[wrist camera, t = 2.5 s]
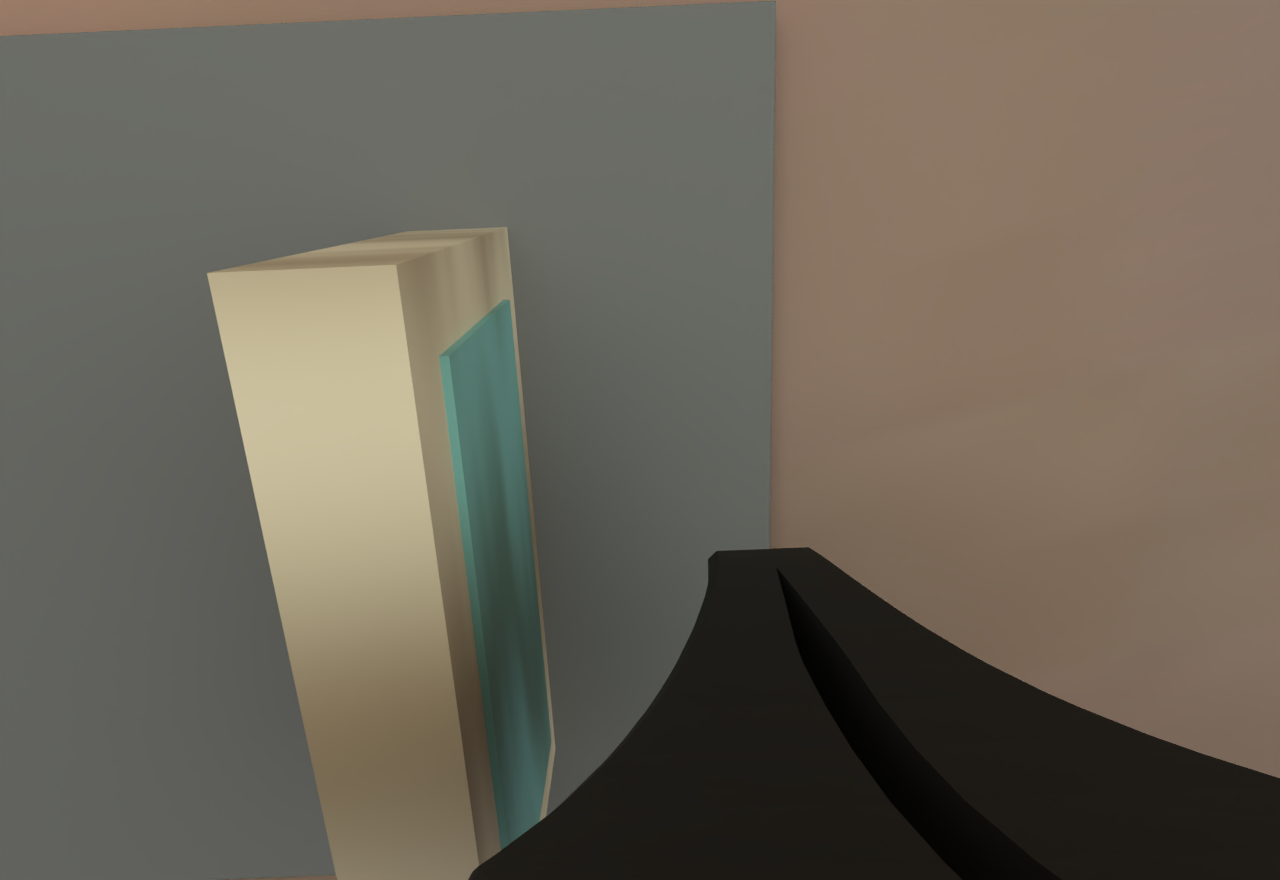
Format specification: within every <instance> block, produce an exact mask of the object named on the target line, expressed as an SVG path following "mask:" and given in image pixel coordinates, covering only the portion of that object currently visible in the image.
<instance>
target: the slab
mask: <svg viewBox="0 0 1280 880" xmlns="http://www.w3.org/2000/svg"><path fill="white" fill-rule="evenodd" d="M207 276H208V280H209V285H210V290H211V294H212V299H213V304H214V308H215V313H216V318H217V322H218V327H219V332H220V336H221V341H222V346H223V350H224V355H225V360H226V364H227V369H228V374H229V378H230V383H231V388H232V392H233V397H234V402H235V406H236V411H237V416H238V421H239V425H240V430H241V435H242V439H243V444H244V449H245V453H246V458H247V463H248V467H249V472H250V477H251V481H252V486H253V491H254V495H255V500H256V505H257V509H258V514H259V519H260V523H261V528H262V533H263V537H264V542H265V547H266V551H267V556H268V561H269V565H270V570H271V575H272V579H273V584H274V589H275V593H276V598H277V603H278V607H279V612H280V617H281V621H282V626H283V631H284V635H285V640H286V645H287V649H288V654H289V659H290V663H291V668H292V673H293V677H294V682H295V687H296V691H297V696H298V701H299V705H300V710H301V715H302V719H303V724H304V729H305V733H306V738H307V743H308V747H309V752H310V757H311V761H312V766H313V771H314V775H315V780H316V785H317V789H318V794H319V799H320V803H321V808H322V813H323V817H324V822H325V827H326V831H327V836H328V841H329V845H330V850H331V855H332V859H333V864H334V869H335V873H336V878H337V880H468V879H469V877H470V875H471V873H472V872H473V871H474V870H475V869H476V868H477V867H478V866H479V865H481V864H482V863H484V862H485V861H487V860H488V859H490V858H491V857H493V856H494V855H495V854H497V853H498V852H499V851H501V850H502V849H503V848H505V847H506V846H507V845H509V844H510V843H511V842H513V841H514V840H515V839H517V838H518V837H519V836H521V835H522V834H523V833H525V832H526V831H527V830H529V829H530V828H531V827H533V826H534V825H535V824H537V823H538V822H539V821H541V820H542V819H543V818H545V817H546V813H547V806H548V799H549V792H550V785H551V778H552V770H553V763H554V756H555V738H554V727H553V716H552V706H551V695H550V684H549V673H548V662H547V652H546V641H545V630H544V619H543V608H542V598H541V587H540V576H539V565H538V554H537V544H536V533H535V522H534V511H533V500H532V490H531V479H530V468H529V457H528V446H527V436H526V425H525V414H524V403H523V392H522V382H521V371H520V360H519V349H518V338H517V328H516V317H515V306H514V295H513V284H512V274H511V263H510V252H509V241H508V230H507V227H499V228H477V229H454V230H431V231H408V232H402V233H397V234H392V235H387V236H382V237H378V238H373V239H368V240H363V241H358V242H354V243H349V244H344V245H339V246H334V247H330V248H325V249H320V250H315V251H310V252H306V253H301V254H296V255H291V256H286V257H281V258H277V259H272V260H267V261H262V262H257V263H253V264H248V265H243V266H238V267H233V268H229V269H224V270H219V271H214V272H209V273H207Z"/></svg>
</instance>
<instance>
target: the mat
mask: <svg viewBox="0 0 1280 880" xmlns="http://www.w3.org/2000/svg"><path fill="white" fill-rule="evenodd" d="M775 36H776V1H760V2H739V3H717V4H695V5H673V6H651V7H629V8H607V9H585V10H564V11H542V12H520V13H498V14H476V15H454V16H432V17H411V18H389V19H367V20H345V21H323V22H301V23H279V24H257V25H236V26H214V27H192V28H170V29H148V30H126V31H104V32H83V33H61V34H39V35H17V36H0V880H219V879H245V878H271V877H297V876H322V875H336V873H335V869H334V864H333V859H332V855H331V850H330V845H329V841H328V836H327V831H326V827H325V822H324V817H323V813H322V808H321V803H320V799H319V794H318V789H317V785H316V780H315V775H314V771H313V766H312V761H311V757H310V752H309V747H308V743H307V738H306V733H305V729H304V724H303V719H302V715H301V710H300V705H299V701H298V696H297V691H296V687H295V682H294V677H293V673H292V668H291V663H290V659H289V654H288V649H287V645H286V640H285V635H284V631H283V626H282V621H281V617H280V612H279V607H278V603H277V598H276V593H275V589H274V584H273V579H272V575H271V570H270V565H269V561H268V556H267V551H266V547H265V542H264V537H263V533H262V528H261V523H260V519H259V514H258V509H257V505H256V500H255V495H254V491H253V486H252V481H251V477H250V472H249V467H248V463H247V458H246V453H245V449H244V444H243V439H242V435H241V430H240V425H239V421H238V416H237V411H236V406H235V402H234V397H233V392H232V388H231V383H230V378H229V374H228V369H227V364H226V360H225V355H224V350H223V346H222V341H221V336H220V332H219V327H218V322H217V318H216V313H215V308H214V304H213V299H212V294H211V290H210V285H209V280H208V276H207V273H209V272H214V271H219V270H224V269H229V268H233V267H238V266H243V265H248V264H253V263H257V262H262V261H267V260H272V259H277V258H281V257H286V256H291V255H296V254H301V253H306V252H310V251H315V250H320V249H325V248H330V247H334V246H339V245H344V244H349V243H354V242H358V241H363V240H368V239H373V238H378V237H382V236H387V235H392V234H397V233H402V232H408V231H431V230H454V229H477V228H499V227H507V230H508V241H509V252H510V263H511V274H512V284H513V295H514V306H515V317H516V328H517V338H518V349H519V360H520V371H521V382H522V392H523V403H524V414H525V425H526V436H527V446H528V457H529V468H530V479H531V490H532V500H533V511H534V522H535V533H536V544H537V554H538V565H539V576H540V587H541V598H542V608H543V619H544V630H545V641H546V652H547V662H548V673H549V684H550V695H551V706H552V716H553V727H554V738H555V756H554V763H553V770H552V778H551V785H550V792H549V799H548V806H547V813H546V816H547V815H549V814H550V813H551V812H552V811H553V810H555V809H556V808H557V807H558V806H559V805H560V804H561V803H562V802H563V801H564V800H565V799H566V798H567V797H568V796H569V795H570V794H571V793H572V792H574V791H575V790H576V789H577V788H578V787H579V786H580V785H581V784H582V783H583V782H584V781H585V780H586V779H587V778H588V777H589V776H590V775H591V774H592V773H593V772H594V771H595V770H596V769H597V768H598V767H599V766H600V765H601V764H602V763H603V762H604V761H605V760H606V759H607V758H608V757H609V756H610V755H611V753H612V752H613V751H614V750H615V749H616V748H617V747H618V745H619V744H620V743H621V742H622V741H623V740H624V738H625V737H626V736H627V735H628V733H629V732H630V731H631V729H632V728H633V727H634V726H635V724H636V723H637V722H638V720H639V719H640V718H641V717H642V715H643V714H644V713H645V712H646V710H647V709H648V707H649V706H650V704H651V703H652V702H653V700H654V699H655V697H656V696H657V694H658V693H659V691H660V690H661V688H662V687H663V685H664V683H665V682H666V680H667V678H668V677H669V675H670V673H671V672H672V670H673V668H674V666H675V665H676V663H677V661H678V659H679V657H680V655H681V653H682V651H683V649H684V646H685V644H686V642H687V640H688V638H689V636H690V634H691V632H692V630H693V628H694V625H695V623H696V620H697V617H698V614H699V612H700V609H701V606H702V603H703V600H704V597H705V594H706V590H707V586H708V559H709V558H710V557H711V556H712V555H713V554H714V553H715V552H716V551H727V550H753V549H770V463H771V378H772V292H773V207H774V121H775Z"/></svg>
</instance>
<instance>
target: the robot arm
mask: <svg viewBox="0 0 1280 880" xmlns="http://www.w3.org/2000/svg"><path fill="white" fill-rule="evenodd" d="M468 880H1280V778H1277V777H1273V776H1270V775H1267V774H1264V773H1261V772H1258V771H1255V770H1251V769H1248V768H1245V767H1242V766H1239V765H1236V764H1233V763H1229V762H1226V761H1223V760H1220V759H1217V758H1214V757H1210V756H1207V755H1204V754H1201V753H1198V752H1195V751H1193V750H1190V749H1187V748H1184V747H1181V746H1178V745H1176V744H1173V743H1170V742H1167V741H1164V740H1161V739H1159V738H1156V737H1153V736H1150V735H1147V734H1145V733H1142V732H1140V731H1137V730H1135V729H1132V728H1130V727H1127V726H1125V725H1122V724H1120V723H1117V722H1115V721H1112V720H1110V719H1107V718H1105V717H1102V716H1100V715H1097V714H1095V713H1092V712H1090V711H1087V710H1085V709H1082V708H1080V707H1077V706H1075V705H1073V704H1071V703H1068V702H1066V701H1064V700H1061V699H1059V698H1057V697H1055V696H1052V695H1050V694H1048V693H1046V692H1044V691H1042V690H1039V689H1037V688H1035V687H1033V686H1031V685H1029V684H1027V683H1025V682H1023V681H1021V680H1019V679H1017V678H1015V677H1013V676H1011V675H1009V674H1007V673H1005V672H1003V671H1001V670H999V669H997V668H995V667H993V666H991V665H989V664H987V663H985V662H983V661H982V660H980V659H978V658H976V657H974V656H972V655H971V654H969V653H967V652H965V651H963V650H962V649H960V648H958V647H957V646H955V645H953V644H952V643H950V642H948V641H947V640H945V639H943V638H942V637H940V636H938V635H937V634H935V633H933V632H932V631H930V630H928V629H927V628H925V627H923V626H922V625H920V624H919V623H917V622H916V621H914V620H913V619H911V618H909V617H908V616H906V615H905V614H903V613H902V612H900V611H899V610H897V609H896V608H894V607H893V606H891V605H890V604H888V603H887V602H886V601H884V600H883V599H881V598H880V597H878V596H877V595H875V594H874V593H873V592H871V591H870V590H868V589H867V588H866V587H864V586H863V585H861V584H860V583H859V582H857V581H856V580H854V579H853V578H852V577H850V576H849V575H847V574H846V573H845V572H843V571H842V570H841V569H839V568H838V567H836V566H835V565H834V564H832V563H831V562H830V561H828V560H827V559H825V558H824V557H823V556H821V555H820V554H818V553H817V552H815V551H813V550H812V549H810V548H808V547H806V548H779V549H753V550H727V551H716V552H715V553H714V554H713V555H712V556H711V557H710V558H709V559H708V586H707V590H706V594H705V597H704V600H703V603H702V606H701V609H700V612H699V614H698V617H697V620H696V623H695V625H694V628H693V630H692V632H691V634H690V636H689V638H688V640H687V642H686V644H685V646H684V649H683V651H682V653H681V655H680V657H679V659H678V661H677V663H676V665H675V666H674V668H673V670H672V672H671V673H670V675H669V677H668V678H667V680H666V682H665V683H664V685H663V687H662V688H661V690H660V691H659V693H658V694H657V696H656V697H655V699H654V700H653V702H652V703H651V704H650V706H649V707H648V709H647V710H646V712H645V713H644V714H643V715H642V717H641V718H640V719H639V720H638V722H637V723H636V724H635V726H634V727H633V728H632V729H631V731H630V732H629V733H628V735H627V736H626V737H625V738H624V740H623V741H622V742H621V743H620V744H619V745H618V747H617V748H616V749H615V750H614V751H613V752H612V753H611V755H610V756H609V757H608V758H607V759H606V760H605V761H604V762H603V763H602V764H601V765H600V766H599V767H598V768H597V769H596V770H595V771H594V772H593V773H592V774H591V775H590V776H589V777H588V778H587V779H586V780H585V781H584V782H583V783H582V784H581V785H580V786H579V787H578V788H577V789H576V790H575V791H574V792H572V793H571V794H570V795H569V796H568V797H567V798H566V799H565V800H564V801H563V802H562V803H561V804H560V805H559V806H558V807H557V808H556V809H555V810H553V811H552V812H551V813H550V814H549V815H547V816H546V817H545V818H543V819H542V820H541V821H539V822H538V823H537V824H535V825H534V826H533V827H531V828H530V829H529V830H527V831H526V832H525V833H523V834H522V835H521V836H519V837H518V838H517V839H515V840H514V841H513V842H511V843H510V844H509V845H507V846H506V847H505V848H503V849H502V850H501V851H499V852H498V853H497V854H495V855H494V856H493V857H491V858H490V859H488V860H487V861H485V862H484V863H482V864H481V865H479V866H478V867H477V868H476V869H475V870H474V871H473V872H472V873H471V875H470V877H469V879H468Z"/></svg>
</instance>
